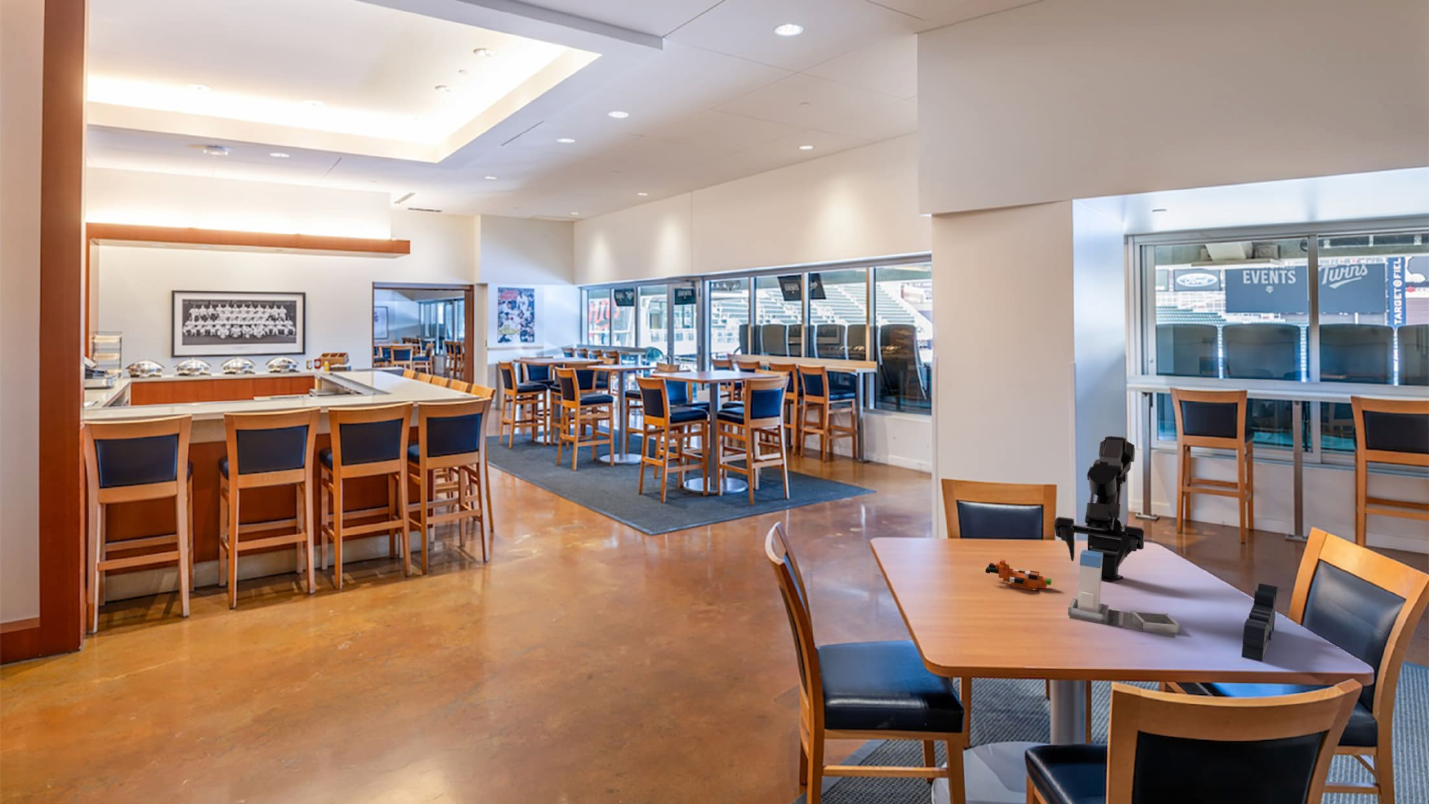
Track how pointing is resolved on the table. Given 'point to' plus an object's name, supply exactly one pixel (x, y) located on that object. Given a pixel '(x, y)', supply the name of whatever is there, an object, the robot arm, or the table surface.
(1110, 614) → the panel
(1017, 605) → the table surface
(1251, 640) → the logo
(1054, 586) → the table surface
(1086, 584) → the plug
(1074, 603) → the grey square holder
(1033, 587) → the toy
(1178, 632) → the gray square frame
